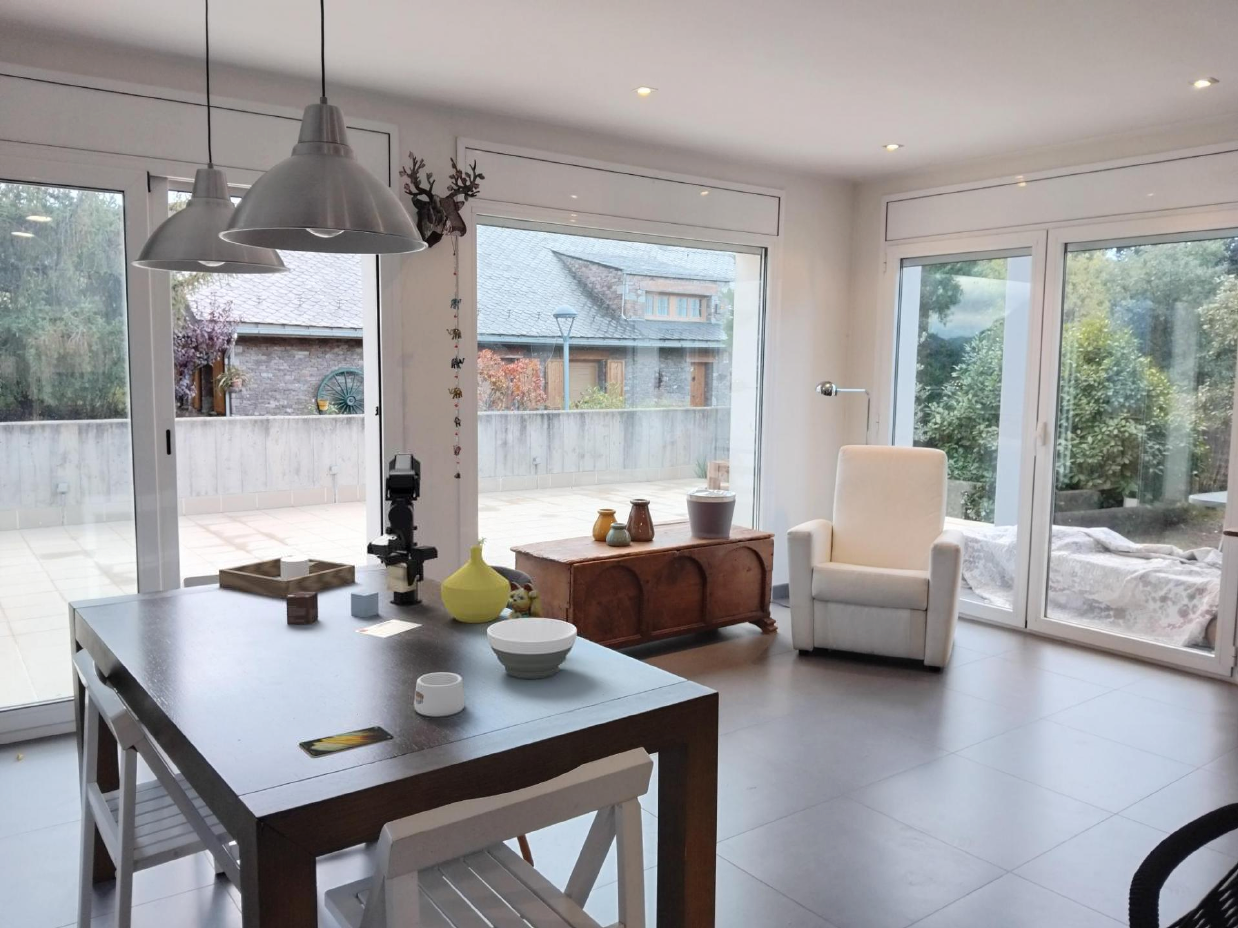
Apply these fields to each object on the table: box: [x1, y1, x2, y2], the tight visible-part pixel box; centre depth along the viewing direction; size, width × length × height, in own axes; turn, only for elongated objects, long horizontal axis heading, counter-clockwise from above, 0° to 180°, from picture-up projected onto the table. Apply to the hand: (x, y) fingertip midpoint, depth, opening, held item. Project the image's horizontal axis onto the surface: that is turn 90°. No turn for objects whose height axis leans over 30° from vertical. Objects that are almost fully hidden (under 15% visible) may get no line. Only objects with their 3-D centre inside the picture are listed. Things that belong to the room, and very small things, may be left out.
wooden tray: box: [218, 555, 356, 600], centre depth 288 cm, size 27×28×5 cm
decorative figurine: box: [506, 581, 543, 620], centre depth 230 cm, size 10×8×15 cm
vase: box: [440, 545, 512, 624], centre depth 251 cm, size 18×18×19 cm
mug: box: [413, 671, 466, 718], centre depth 185 cm, size 12×10×6 cm
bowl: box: [486, 617, 578, 680], centre depth 208 cm, size 20×20×10 cm
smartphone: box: [298, 725, 395, 758], centre depth 168 cm, size 7×1×15 cm
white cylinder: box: [280, 555, 318, 580], centre depth 289 cm, size 20×19×8 cm
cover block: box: [386, 563, 416, 592], centre depth 237 cm, size 5×5×6 cm
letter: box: [353, 619, 423, 639], centre depth 241 cm, size 14×10×1 cm
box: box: [285, 591, 319, 625], centre depth 246 cm, size 6×6×7 cm
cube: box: [350, 589, 380, 618], centre depth 254 cm, size 5×5×6 cm
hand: (402, 584), depth 237 cm, fingers closed on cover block, 5 cm apart
